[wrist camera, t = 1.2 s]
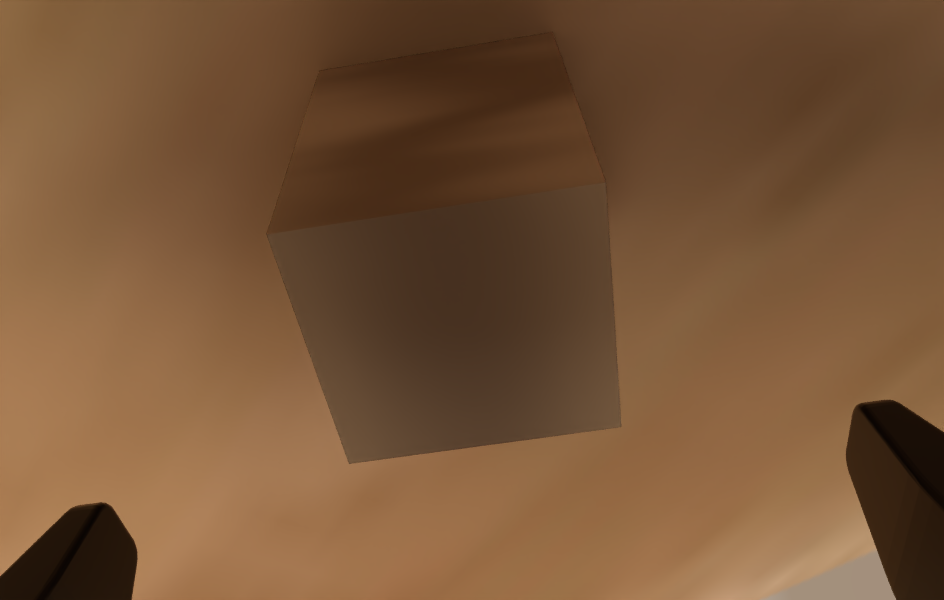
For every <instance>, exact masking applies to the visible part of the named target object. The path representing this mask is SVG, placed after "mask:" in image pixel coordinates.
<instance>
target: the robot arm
mask: <svg viewBox="0 0 944 600" xmlns="http://www.w3.org/2000/svg"><path fill="white" fill-rule="evenodd" d="M846 461H847V467H848V471H849V474H850V477H851V479H852V482H853V485H854V488H855V490H856V493H857V496H858V499H859V501H860V504H861V507H862V510H863V513H864V515H865V518H866V521H867V524H868V526H869V529H870V532H871V535H872V537H873V540H874V543H875V546H876V549H877V551H878V554H879V557H880V559H881V562H882V565H883V568H884V571H885V573H886V576H887V578H888V581H889V584H890V586H891V589H892V591H893V593H894V596H895V598H896V600H944V432H943V431H941V430H940V429H938V428H937V427H935V426H934V425H932V424H931V423H929V422H928V421H926V420H924V419H923V418H921V417H920V416H918V415H917V414H915V413H914V412H912V411H911V410H909V409H908V408H906V407H905V406H903V405H902V404H900V403H898V402H896V401H893V400H881V401H873V402H865V403H860V404H858V405H857V406H856V407H855V408H854V410H853V414H852V419H851V425H850V431H849V437H848V442H847V448H846ZM136 567H137V548H136V545H135V542H134V540H133V538H132V537H131V535H130V534H129V532H128V531H127V529H126V528H125V526H124V524H123V523H122V521H121V520H120V518H119V517H118V515H117V514H116V512H115V511H114V509H113V508H112V507H111V506H110V505H108V504H107V503H102V502H100V503H93V504H85V505H78V506H75V507H73V508H71V509H69V510H68V511H67V512H66V513H65V514H64V515H63V516H62V517H61V518H60V519H59V520H58V521H57V522H56V523H55V524H53V525H52V526H51V527H50V528H49V529H48V530H47V531H46V532H45V533H44V534H43V535H42V536H41V537H40V538H39V539H38V540H37V541H36V542H35V543H34V544H33V545H32V546H31V547H30V548H29V549H28V550H27V551H26V552H25V553H24V554H23V555H22V556H21V557H20V558H19V559H18V560H17V561H15V562H14V563H13V564H12V565H11V566H10V567H9V568H8V569H7V570H6V571H5V572H4V573H3V574H2V575H1V576H0V600H132V594H133V587H134V580H135V573H136Z"/></svg>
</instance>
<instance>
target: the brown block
mask: <svg viewBox="0 0 944 600" xmlns="http://www.w3.org/2000/svg"><path fill="white" fill-rule="evenodd" d="M267 237H268V240H269V243H270V246H271V248H272V251H273V254H274V257H275V259H276V262H277V265H278V268H279V271H280V273H281V276H282V279H283V282H284V284H285V287H286V290H287V293H288V295H289V298H290V301H291V304H292V307H293V309H294V312H295V315H296V318H297V320H298V323H299V326H300V329H301V332H302V334H303V337H304V340H305V343H306V345H307V348H308V351H309V354H310V357H311V359H312V362H313V365H314V368H315V370H316V373H317V376H318V379H319V382H320V384H321V387H322V390H323V393H324V395H325V398H326V401H327V404H328V407H329V409H330V412H331V415H332V418H333V420H334V423H335V426H336V429H337V431H338V434H339V437H340V440H341V443H342V445H343V448H344V451H345V454H346V456H347V459H348V462H349V464H351V463H359V462H366V461H374V460H381V459H388V458H396V457H403V456H411V455H418V454H425V453H433V452H440V451H448V450H455V449H463V448H470V447H477V446H485V445H492V444H500V443H507V442H514V441H522V440H529V439H537V438H544V437H552V436H559V435H566V434H574V433H581V432H589V431H596V430H603V429H611V428H618V427H621V411H620V396H619V380H618V364H617V348H616V333H615V317H614V301H613V285H612V270H611V254H610V238H609V222H608V207H607V191H606V181H605V178H604V175H603V173H602V170H601V167H600V164H599V161H598V159H597V156H596V153H595V150H594V147H593V145H592V142H591V139H590V136H589V133H588V131H587V128H586V125H585V122H584V119H583V117H582V114H581V111H580V108H579V105H578V103H577V100H576V97H575V94H574V91H573V88H572V86H571V83H570V80H569V77H568V74H567V72H566V69H565V66H564V63H563V60H562V58H561V55H560V52H559V49H558V46H557V44H556V41H555V38H554V35H553V32H550V33H544V34H538V35H532V36H525V37H519V38H513V39H507V40H501V41H495V42H489V43H483V44H477V45H471V46H465V47H459V48H453V49H447V50H441V51H435V52H429V53H423V54H417V55H411V56H405V57H399V58H393V59H387V60H381V61H375V62H369V63H363V64H357V65H351V66H345V67H339V68H333V69H327V70H321V71H319V73H318V76H317V79H316V82H315V85H314V88H313V91H312V95H311V98H310V101H309V104H308V107H307V110H306V113H305V116H304V119H303V123H302V126H301V129H300V132H299V135H298V138H297V141H296V144H295V147H294V151H293V154H292V157H291V160H290V163H289V166H288V169H287V172H286V175H285V179H284V182H283V185H282V188H281V191H280V194H279V197H278V200H277V203H276V207H275V210H274V213H273V216H272V219H271V222H270V225H269V228H268V231H267Z"/></svg>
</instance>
